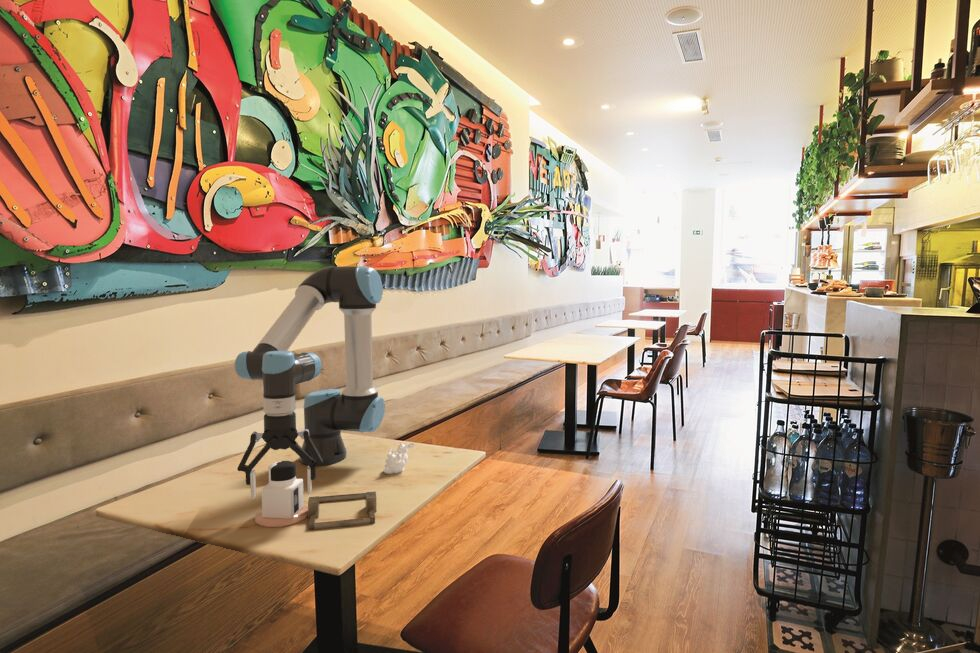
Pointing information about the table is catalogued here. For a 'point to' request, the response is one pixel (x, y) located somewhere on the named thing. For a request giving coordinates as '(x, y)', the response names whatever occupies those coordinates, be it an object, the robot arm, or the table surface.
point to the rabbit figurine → (397, 459)
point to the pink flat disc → (281, 522)
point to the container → (282, 491)
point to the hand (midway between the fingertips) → (281, 494)
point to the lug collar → (314, 513)
